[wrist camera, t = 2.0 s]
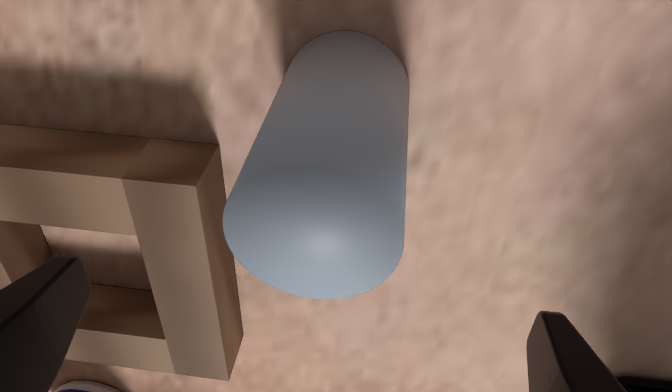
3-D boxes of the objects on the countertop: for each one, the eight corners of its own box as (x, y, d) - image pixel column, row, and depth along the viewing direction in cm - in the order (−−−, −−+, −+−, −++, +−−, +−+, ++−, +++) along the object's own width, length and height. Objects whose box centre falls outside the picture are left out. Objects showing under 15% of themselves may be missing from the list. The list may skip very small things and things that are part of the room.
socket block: (219, 144, 19) (195, 186, 17) (243, 335, 26) (228, 380, 24) (-67, 117, 20) (-120, 154, 18) (30, 308, 27) (-1, 350, 25)
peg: (416, 35, 16) (414, 172, 10) (402, 149, 18) (394, 308, 13) (283, 26, 16) (212, 153, 10) (287, 138, 18) (231, 289, 13)
